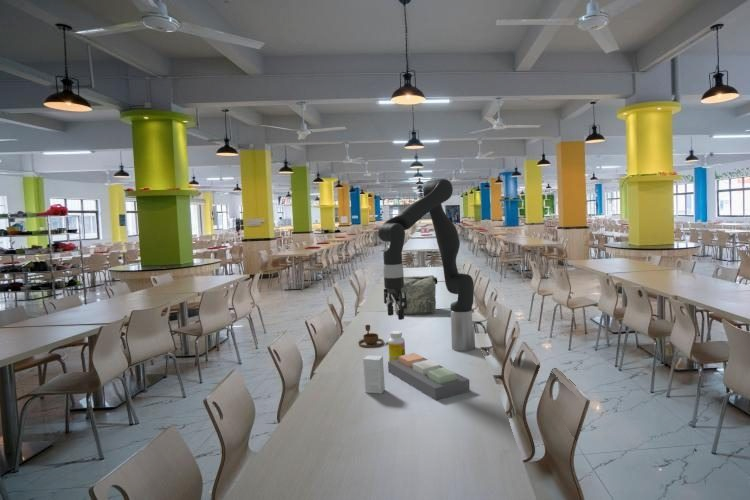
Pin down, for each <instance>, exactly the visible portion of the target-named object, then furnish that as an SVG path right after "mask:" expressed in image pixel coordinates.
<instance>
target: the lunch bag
mask: <svg viewBox="0 0 750 500" xmlns="http://www.w3.org/2000/svg"><path fill="white" fill-rule="evenodd" d="M437 285H438V277H437V276H434V275H431V274H430V275H423V276H422V275H421V276H419V275H418V276H417V275H416V276H415V275H413V276H404V287H403V288H401V292H402V293H406V299H407V308H406V309H404V315H426V314H427V315H430V314H434V313H435V312H436V310H437V308H436V307H437V300H436V299H437V298H436V296H437V295H436V290H437V289H436V286H437ZM403 304H404V303H403ZM399 306H400V305H399ZM394 312H395V314H397V315H398V308H397V306H396V305H395V304H394Z"/></svg>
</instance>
